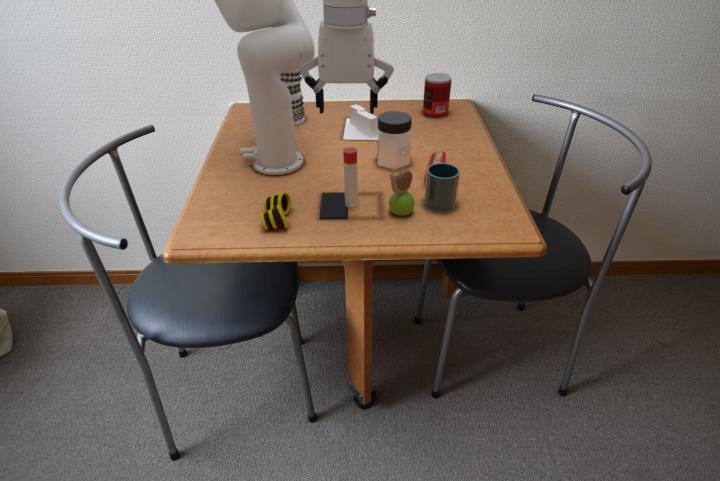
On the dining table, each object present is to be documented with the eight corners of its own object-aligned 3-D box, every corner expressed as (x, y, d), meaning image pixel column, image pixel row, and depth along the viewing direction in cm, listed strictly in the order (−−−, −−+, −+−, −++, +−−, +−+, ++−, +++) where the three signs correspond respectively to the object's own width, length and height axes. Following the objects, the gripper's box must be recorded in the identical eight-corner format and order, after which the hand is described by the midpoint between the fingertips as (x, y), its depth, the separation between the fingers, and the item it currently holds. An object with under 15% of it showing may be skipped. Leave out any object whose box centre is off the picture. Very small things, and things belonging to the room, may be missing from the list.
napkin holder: (384, 139, 131) (384, 120, 127) (342, 139, 131) (342, 120, 128) (383, 118, 143) (384, 99, 139) (345, 118, 143) (345, 99, 140)
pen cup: (426, 213, 101) (429, 178, 96) (422, 196, 107) (425, 163, 102) (457, 213, 101) (462, 178, 96) (452, 196, 107) (456, 162, 102)
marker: (344, 208, 102) (343, 153, 95) (345, 201, 105) (343, 147, 97) (357, 207, 102) (357, 153, 95) (357, 200, 105) (357, 147, 97)
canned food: (452, 111, 147) (456, 75, 140) (441, 119, 141) (445, 83, 135) (429, 106, 150) (432, 71, 143) (418, 114, 145) (420, 78, 138)
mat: (319, 219, 100) (319, 217, 100) (322, 194, 108) (322, 192, 108) (381, 218, 100) (381, 216, 100) (379, 193, 108) (379, 191, 108)
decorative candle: (271, 117, 144) (260, 29, 129) (300, 111, 147) (292, 25, 132) (280, 128, 138) (269, 37, 122) (310, 122, 141) (303, 33, 126)
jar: (388, 173, 115) (389, 127, 108) (369, 161, 121) (369, 115, 114) (417, 164, 119) (420, 118, 112) (397, 151, 125) (399, 107, 117)
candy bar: (431, 157, 122) (432, 147, 120) (446, 159, 121) (447, 148, 119) (422, 189, 109) (423, 177, 108) (438, 191, 109) (439, 179, 107)
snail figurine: (379, 215, 101) (380, 165, 94) (399, 204, 104) (402, 154, 97) (398, 226, 98) (401, 175, 90) (419, 214, 101) (423, 163, 94)
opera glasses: (270, 210, 104) (262, 191, 101) (293, 205, 104) (286, 186, 101) (265, 236, 97) (256, 216, 94) (290, 231, 96) (282, 211, 93)
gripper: (394, 10, 84) (390, 103, 94) (297, 10, 84) (303, 103, 94) (397, 20, 78) (392, 119, 89) (292, 20, 78) (300, 119, 88)
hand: (346, 110), depth 91 cm, fingers open, 9 cm apart
